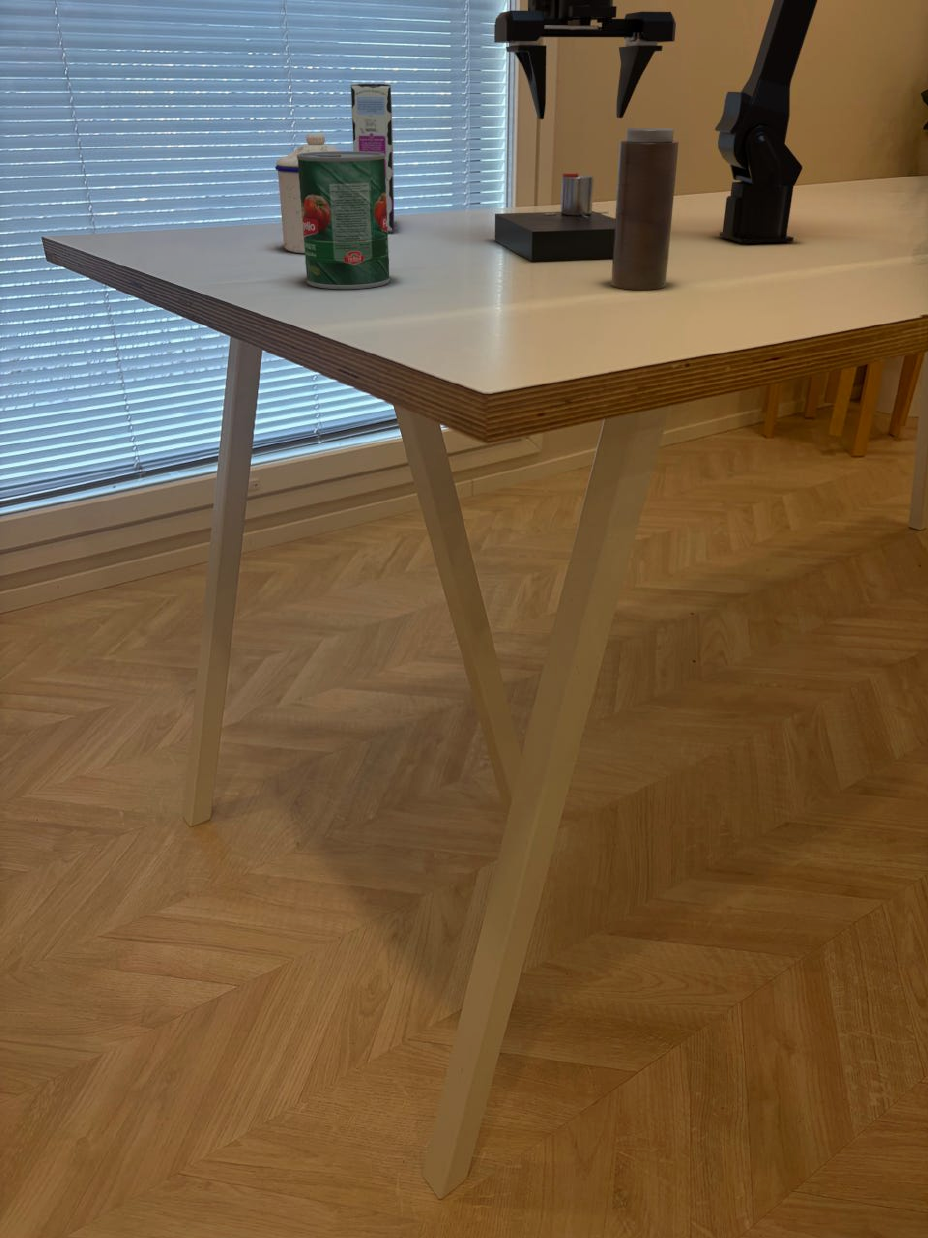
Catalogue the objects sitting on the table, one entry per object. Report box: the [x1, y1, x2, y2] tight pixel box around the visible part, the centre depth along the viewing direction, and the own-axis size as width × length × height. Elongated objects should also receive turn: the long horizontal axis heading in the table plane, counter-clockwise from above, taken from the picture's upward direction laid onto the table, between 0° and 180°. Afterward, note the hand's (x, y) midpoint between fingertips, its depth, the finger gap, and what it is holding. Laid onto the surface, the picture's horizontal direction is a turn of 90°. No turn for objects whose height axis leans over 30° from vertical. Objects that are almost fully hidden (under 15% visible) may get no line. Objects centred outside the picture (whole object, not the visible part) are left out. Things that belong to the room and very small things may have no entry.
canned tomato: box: [297, 150, 391, 290], centre depth 91 cm, size 8×8×11 cm
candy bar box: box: [349, 83, 395, 233], centre depth 124 cm, size 11×5×16 cm, turn 5°
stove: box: [494, 210, 615, 263], centre depth 111 cm, size 13×17×3 cm
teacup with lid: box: [274, 133, 340, 254], centre depth 111 cm, size 12×9×12 cm
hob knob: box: [560, 172, 595, 216], centre depth 114 cm, size 4×4×4 cm
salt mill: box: [610, 127, 679, 291], centre depth 89 cm, size 5×5×13 cm
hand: (580, 118), depth 110 cm, fingers open, 9 cm apart
